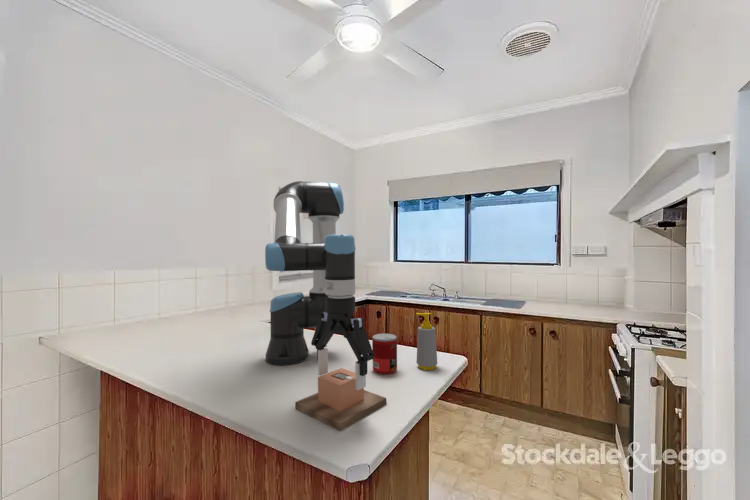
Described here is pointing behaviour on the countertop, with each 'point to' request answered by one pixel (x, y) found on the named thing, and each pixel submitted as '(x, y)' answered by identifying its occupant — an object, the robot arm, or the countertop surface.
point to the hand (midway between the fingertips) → (340, 380)
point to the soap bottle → (426, 345)
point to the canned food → (384, 353)
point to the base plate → (345, 416)
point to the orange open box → (339, 390)
